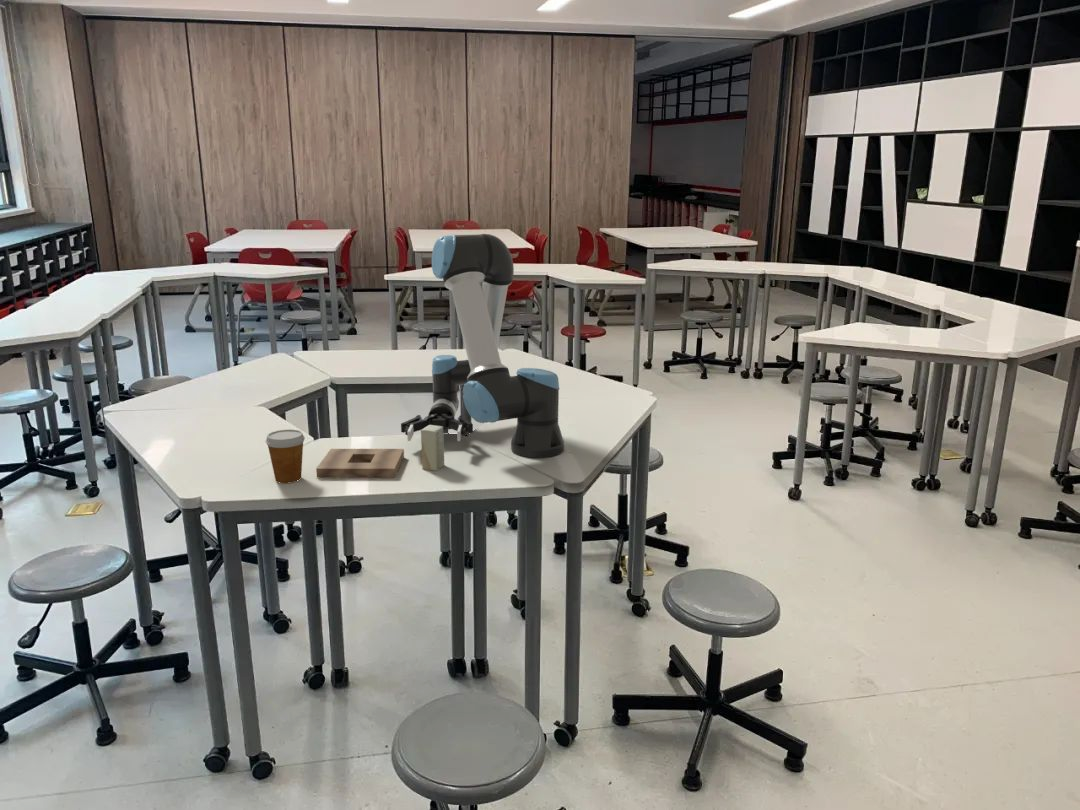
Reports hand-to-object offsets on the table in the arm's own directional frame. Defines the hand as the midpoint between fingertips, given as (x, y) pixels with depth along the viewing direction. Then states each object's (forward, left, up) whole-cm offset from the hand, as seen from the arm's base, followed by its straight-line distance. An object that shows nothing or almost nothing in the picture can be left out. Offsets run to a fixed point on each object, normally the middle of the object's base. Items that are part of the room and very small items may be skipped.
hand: (433, 436), depth 222 cm
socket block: (+18, +7, -6) cm, 21 cm away
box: (-1, +7, -7) cm, 10 cm away
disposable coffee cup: (+35, +16, -7) cm, 39 cm away
